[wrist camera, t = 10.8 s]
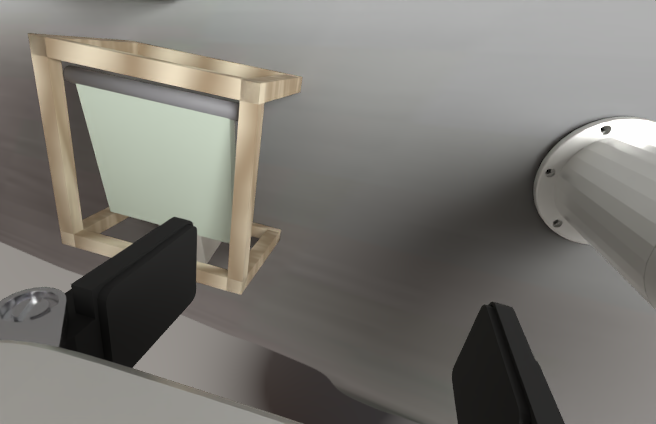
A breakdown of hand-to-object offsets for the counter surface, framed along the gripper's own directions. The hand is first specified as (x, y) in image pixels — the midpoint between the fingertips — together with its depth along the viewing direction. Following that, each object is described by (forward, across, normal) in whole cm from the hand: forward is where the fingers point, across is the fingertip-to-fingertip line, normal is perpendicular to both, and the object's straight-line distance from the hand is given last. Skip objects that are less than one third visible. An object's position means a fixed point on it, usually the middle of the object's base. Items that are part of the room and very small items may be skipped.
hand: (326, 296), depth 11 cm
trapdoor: (+20, +19, +5) cm, 28 cm away
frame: (+28, +19, +6) cm, 34 cm away
